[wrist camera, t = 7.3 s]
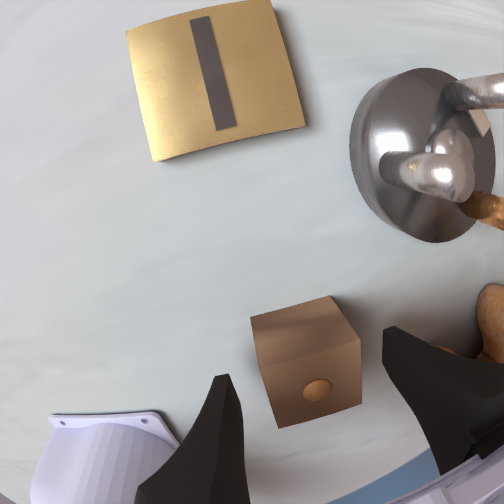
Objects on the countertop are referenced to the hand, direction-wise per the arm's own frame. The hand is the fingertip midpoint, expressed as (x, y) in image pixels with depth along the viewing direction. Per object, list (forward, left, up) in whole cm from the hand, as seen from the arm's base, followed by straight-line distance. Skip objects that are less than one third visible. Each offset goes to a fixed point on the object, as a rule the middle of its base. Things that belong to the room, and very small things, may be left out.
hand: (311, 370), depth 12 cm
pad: (-1, +13, -3) cm, 13 cm away
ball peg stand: (+8, +8, -3) cm, 11 cm away
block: (0, 0, -3) cm, 3 cm away
